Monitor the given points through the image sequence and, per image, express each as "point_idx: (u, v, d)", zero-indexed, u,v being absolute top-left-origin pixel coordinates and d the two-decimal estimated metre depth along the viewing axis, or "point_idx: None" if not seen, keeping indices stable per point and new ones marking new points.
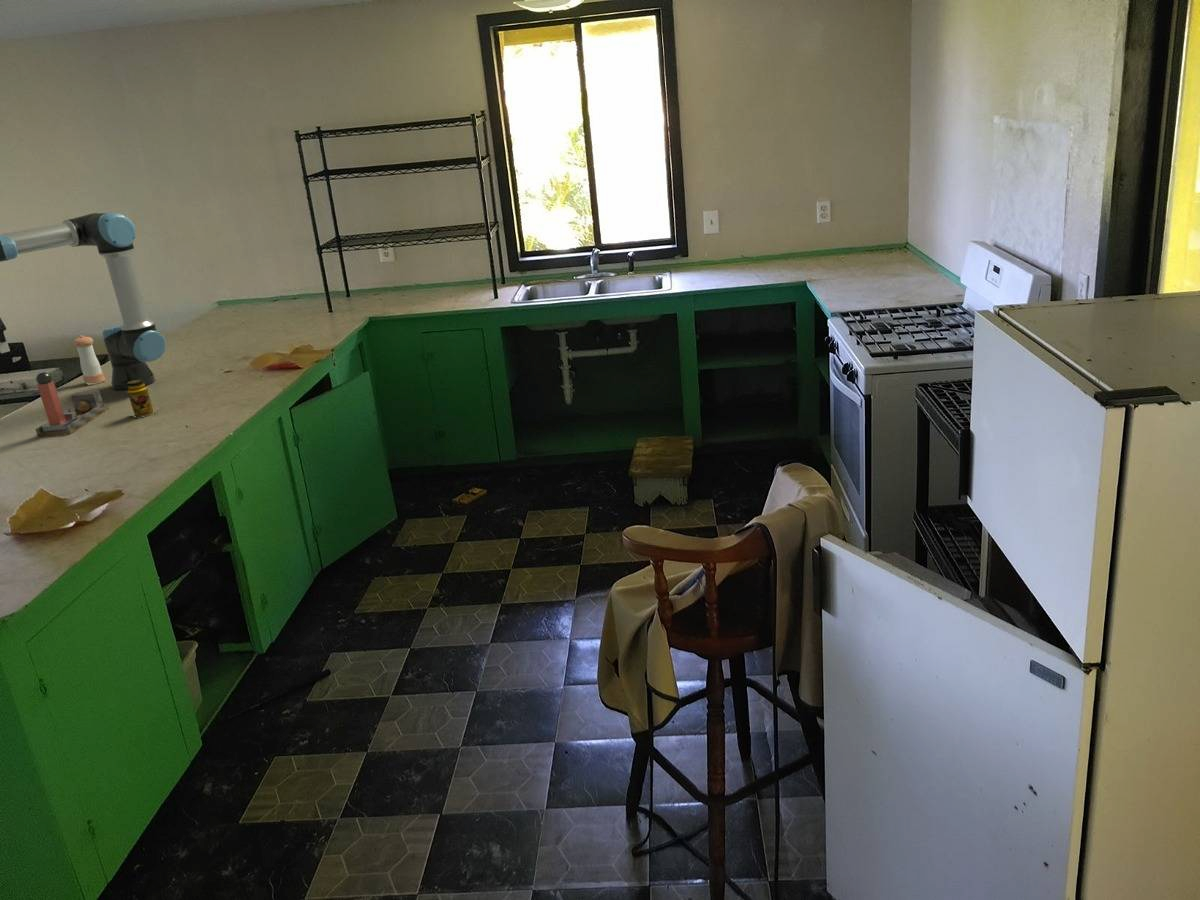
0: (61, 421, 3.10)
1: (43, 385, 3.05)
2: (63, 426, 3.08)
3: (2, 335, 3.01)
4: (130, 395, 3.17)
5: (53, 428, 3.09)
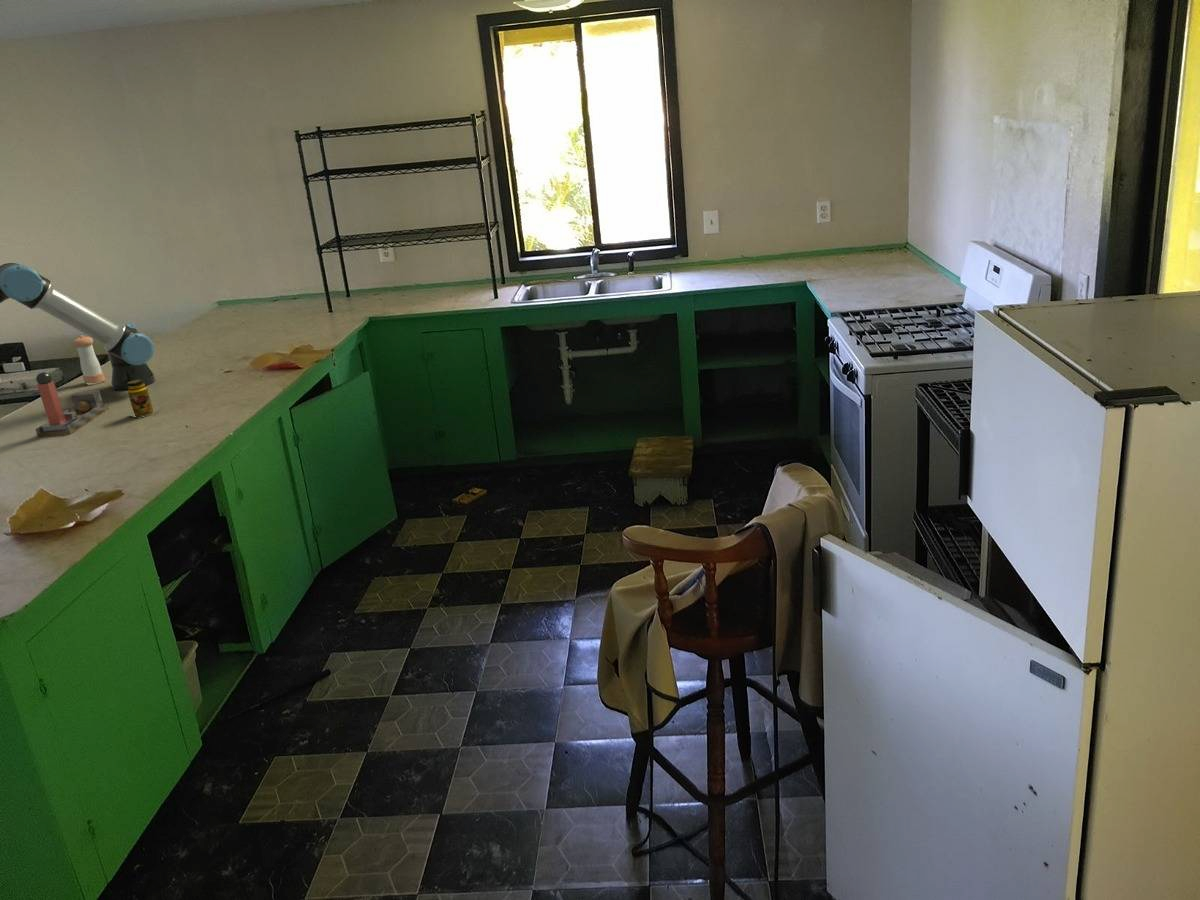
0: (61, 421, 3.10)
1: (43, 385, 3.05)
2: (63, 426, 3.08)
3: None
4: (130, 395, 3.17)
5: (53, 428, 3.09)
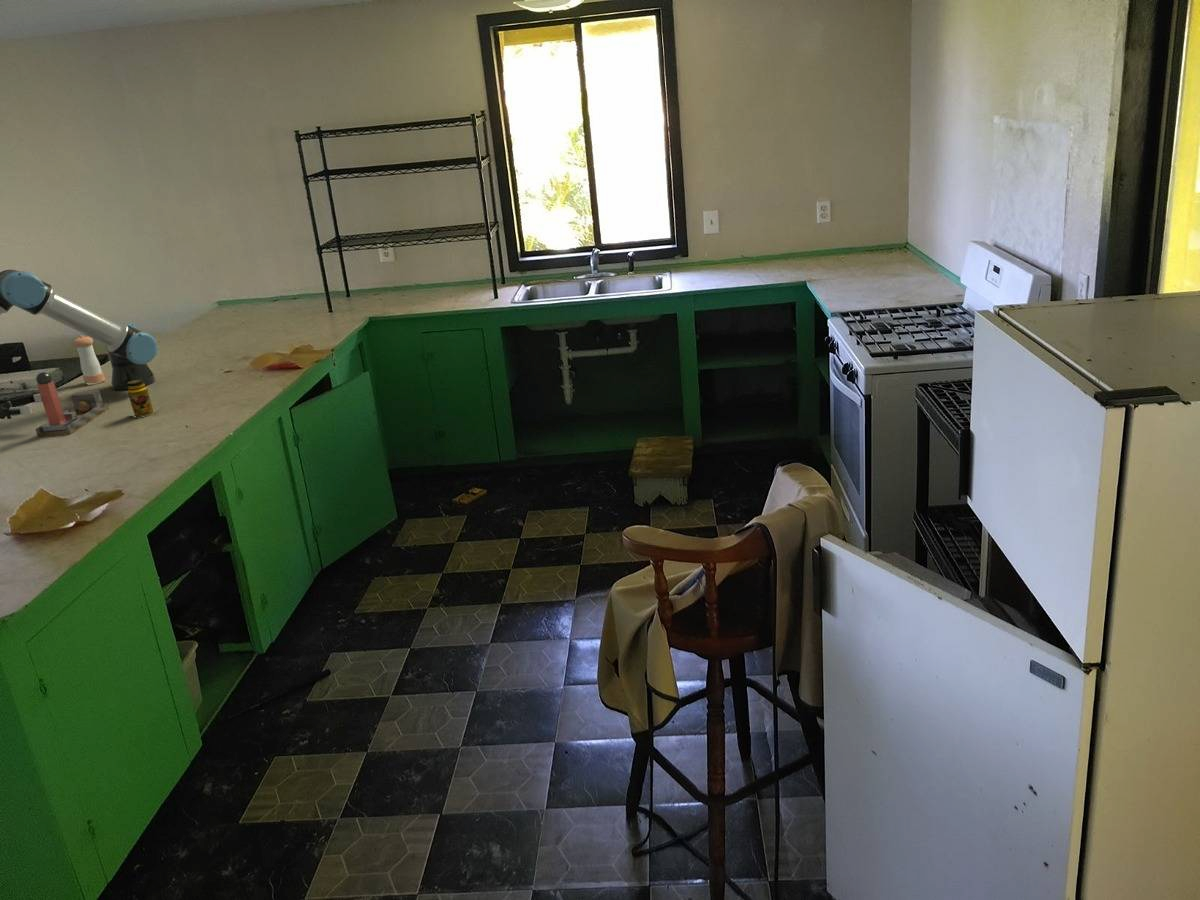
0: (61, 421, 3.10)
1: (43, 385, 3.05)
2: (63, 426, 3.08)
3: (11, 412, 3.00)
4: (130, 395, 3.17)
5: (53, 428, 3.09)
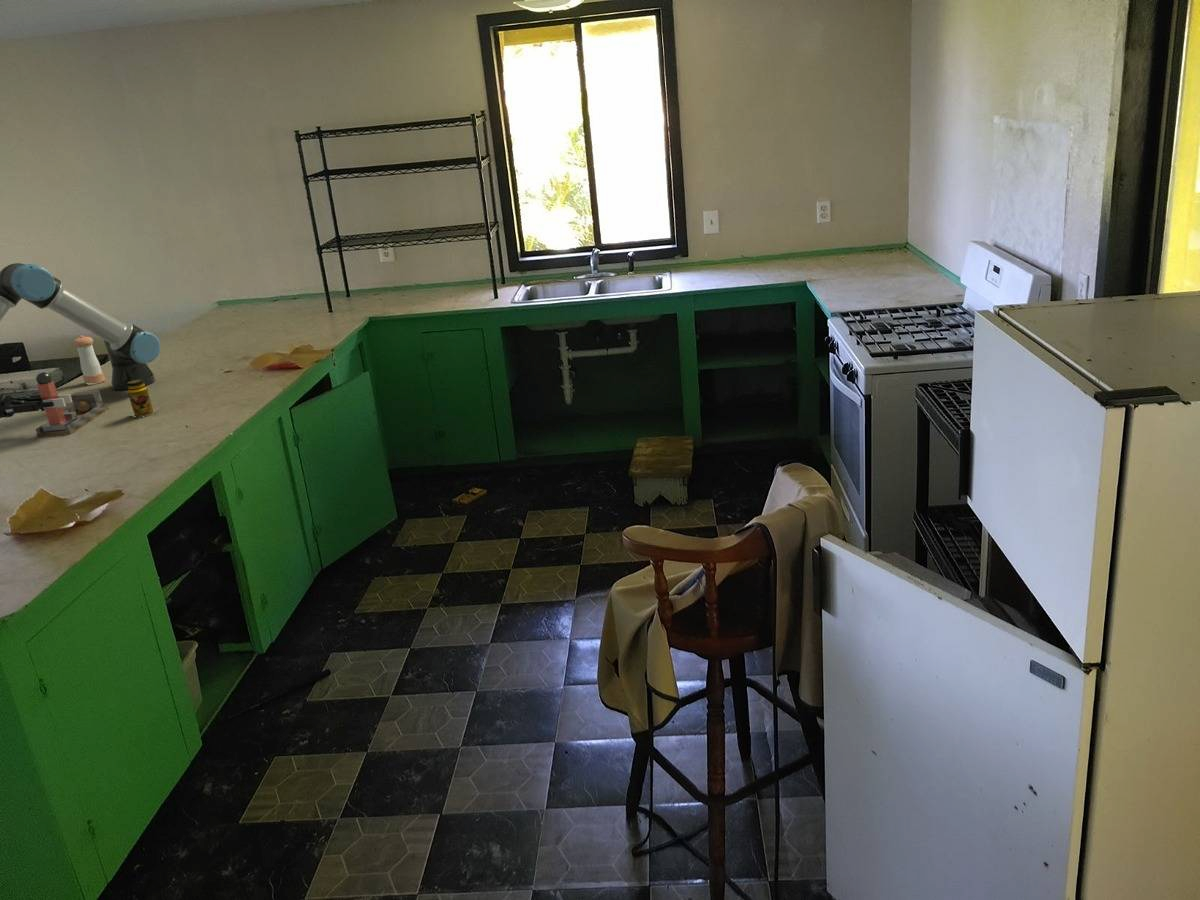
0: (61, 421, 3.10)
1: (43, 385, 3.05)
2: (63, 426, 3.08)
3: (44, 404, 3.05)
4: (130, 395, 3.17)
5: (53, 428, 3.09)
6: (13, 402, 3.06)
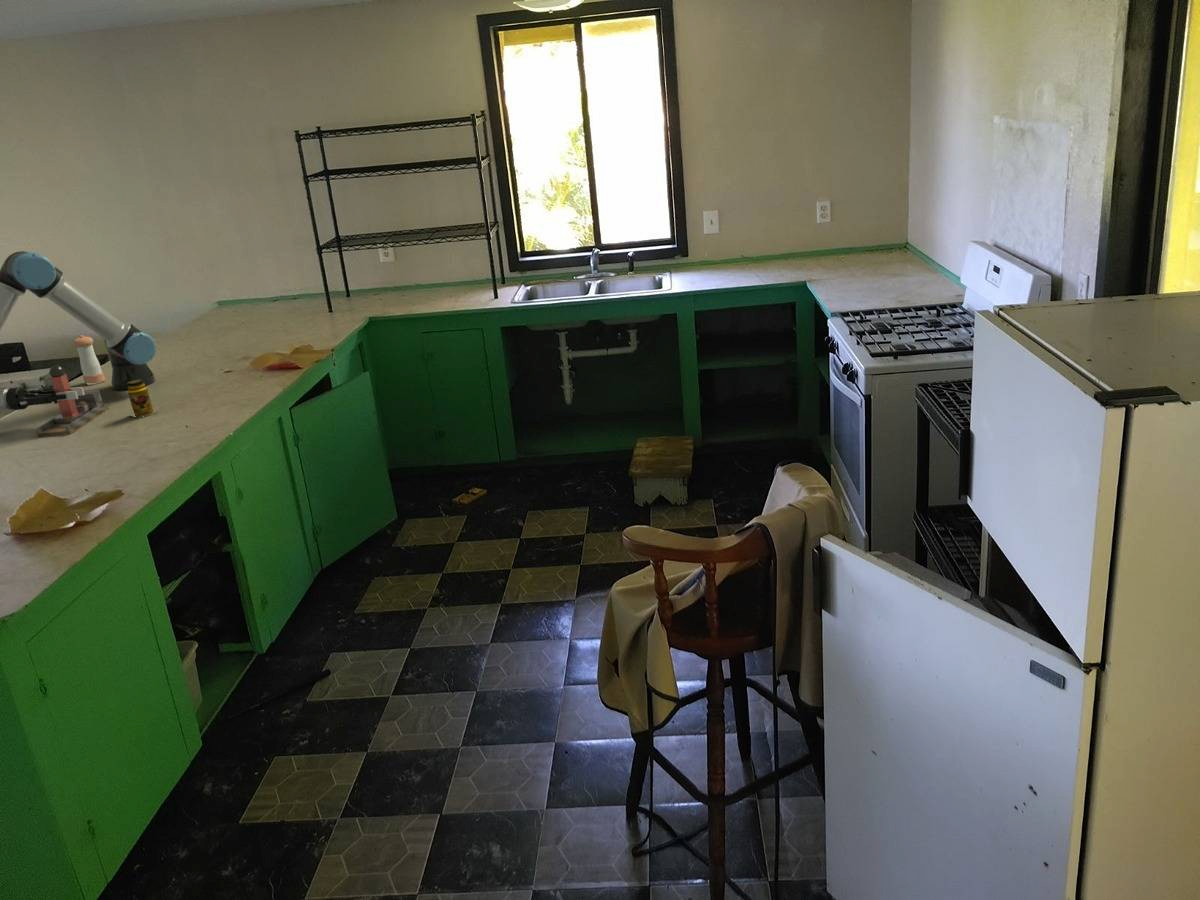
0: (73, 413, 3.18)
1: (56, 378, 3.12)
2: (75, 418, 3.16)
3: (57, 397, 3.12)
4: (130, 395, 3.17)
5: (66, 420, 3.16)
6: (27, 395, 3.14)
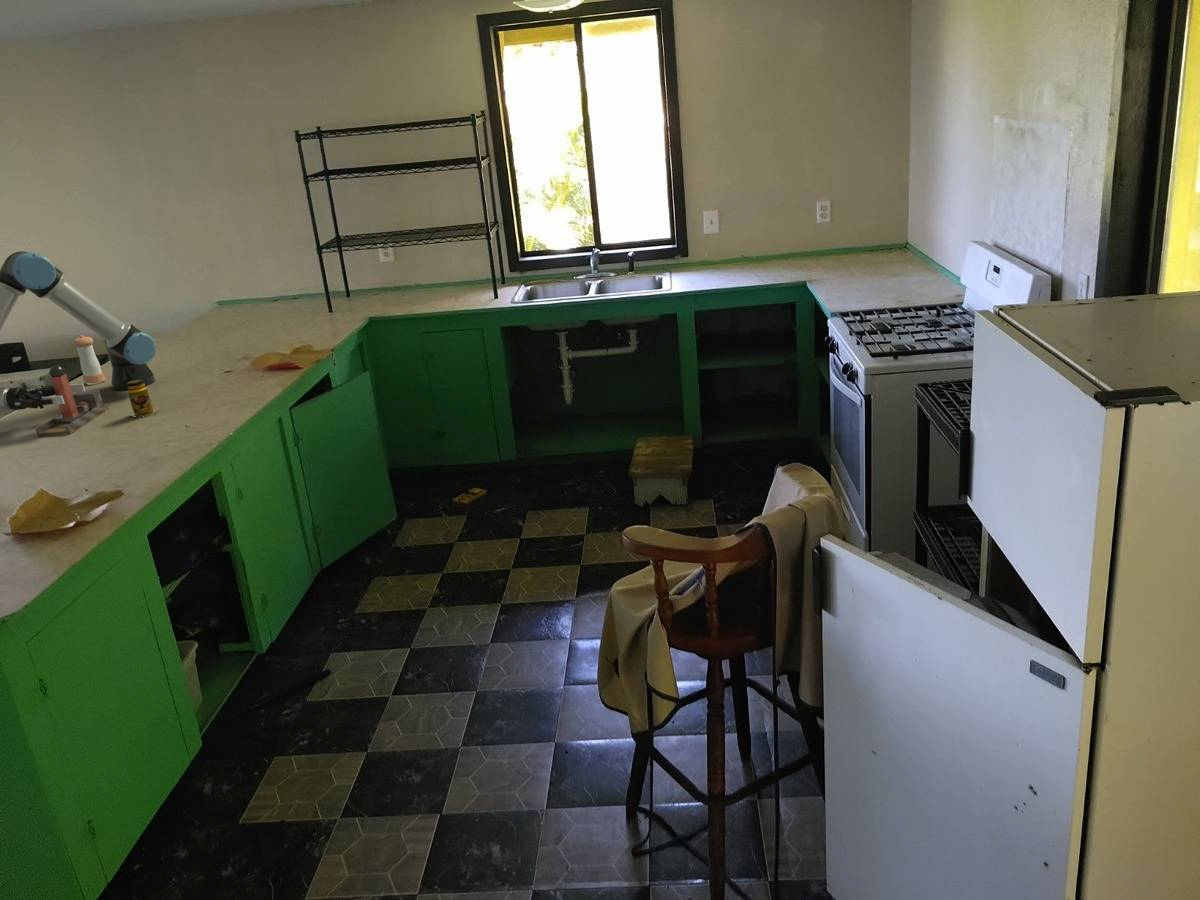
0: (73, 413, 3.18)
1: (56, 378, 3.12)
2: (75, 418, 3.16)
3: (43, 402, 3.08)
4: (130, 395, 3.17)
5: (66, 420, 3.16)
6: (25, 395, 3.14)
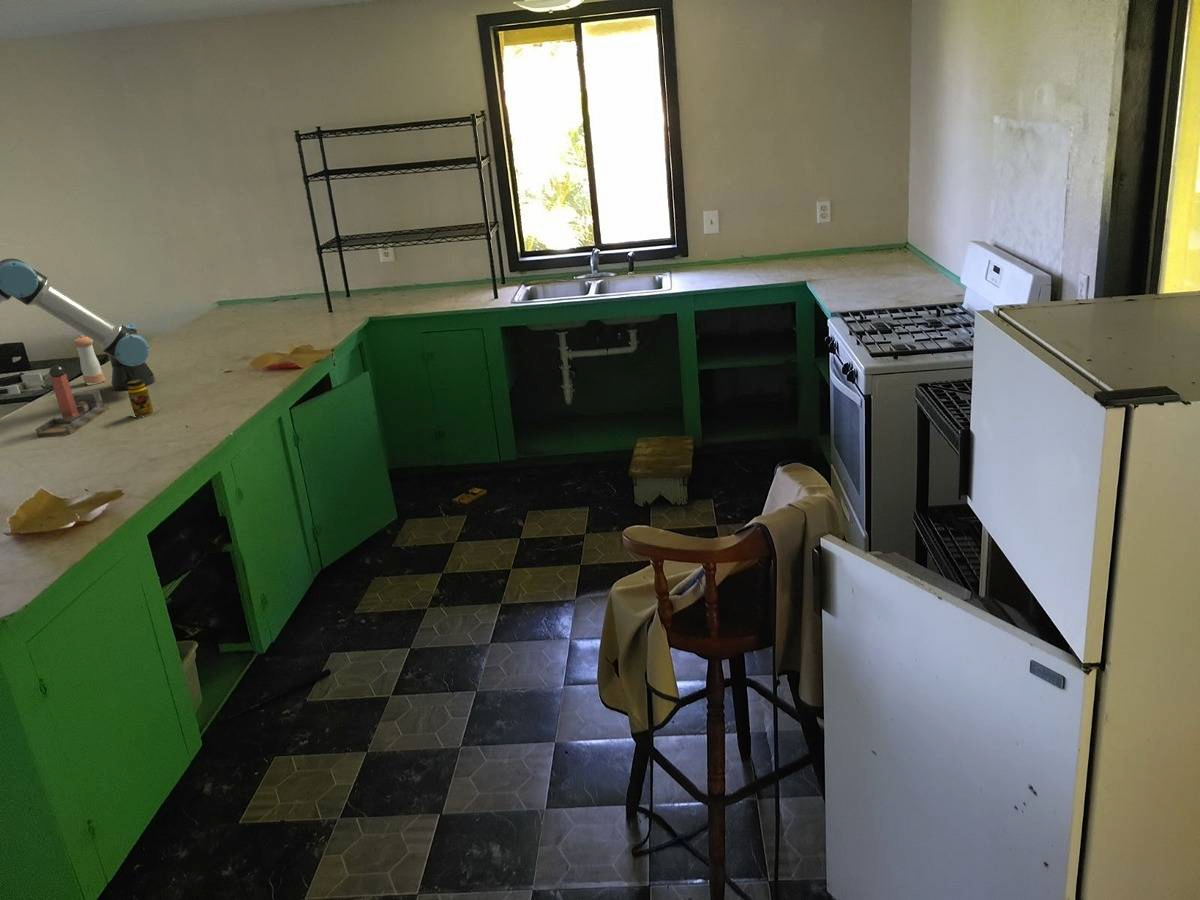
0: (73, 413, 3.18)
1: (56, 378, 3.12)
2: (75, 418, 3.16)
3: None
4: (130, 395, 3.17)
5: (66, 420, 3.16)
6: None
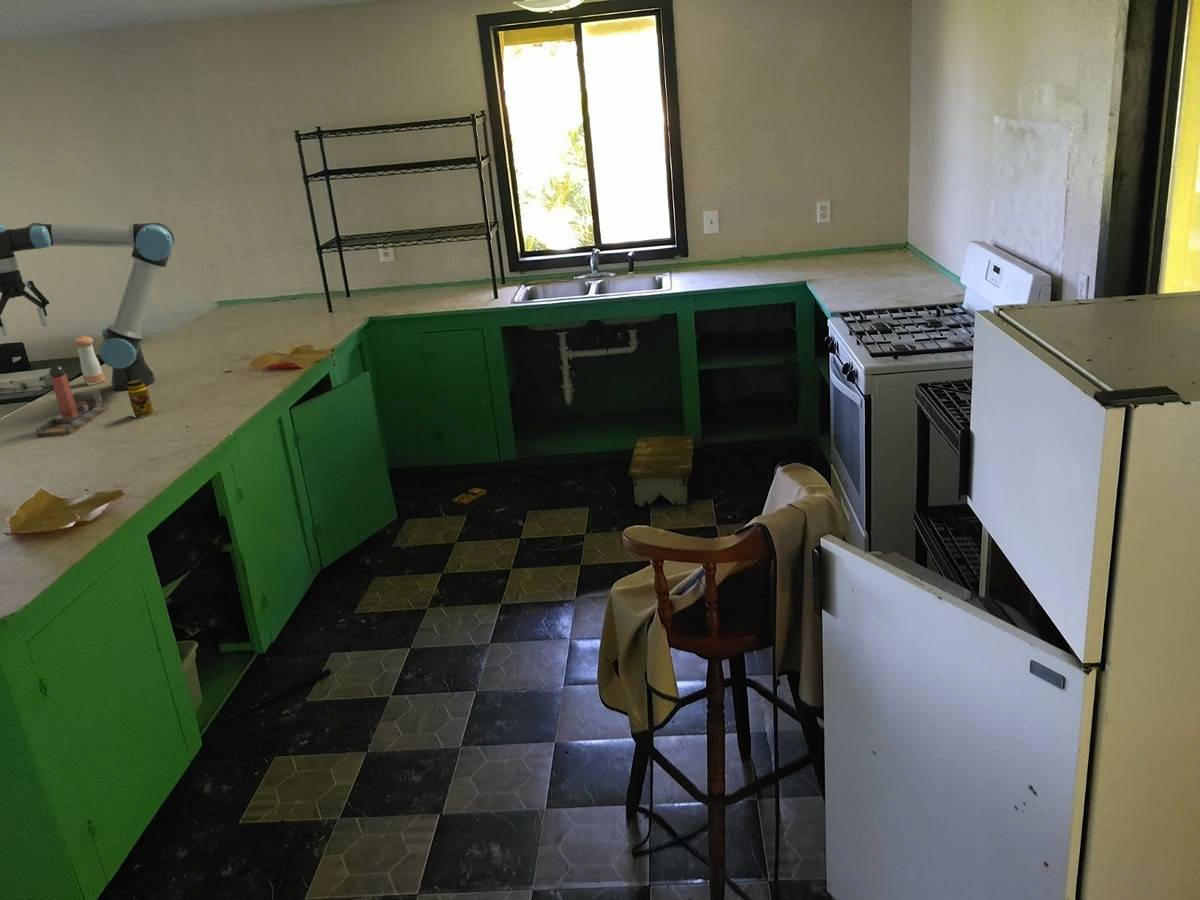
0: (73, 413, 3.18)
1: (56, 378, 3.12)
2: (75, 418, 3.16)
3: None
4: (130, 395, 3.17)
5: (66, 420, 3.16)
6: (8, 290, 3.24)
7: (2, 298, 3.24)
